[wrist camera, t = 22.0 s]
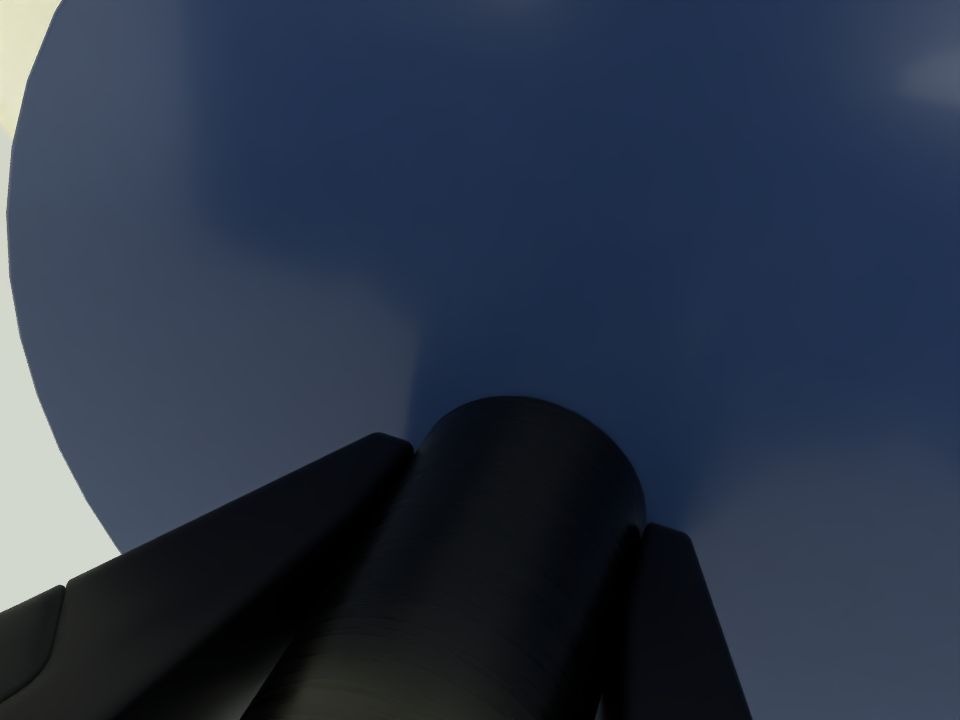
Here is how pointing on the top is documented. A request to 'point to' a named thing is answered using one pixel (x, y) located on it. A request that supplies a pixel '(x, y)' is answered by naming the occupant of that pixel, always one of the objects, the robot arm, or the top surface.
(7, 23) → the top surface
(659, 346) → the tin lid
